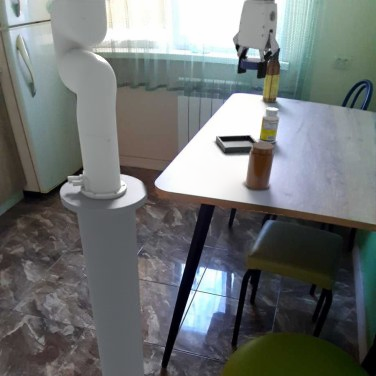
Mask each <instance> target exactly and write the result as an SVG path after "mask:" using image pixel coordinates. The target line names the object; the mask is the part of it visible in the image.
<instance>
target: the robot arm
mask: <svg viewBox="0 0 376 376" xmlns="http://www.w3.org/2000/svg"><path fill="white" fill-rule="evenodd" d="M107 15H108V14H107V4H106V0H52V1H51V4H50V11H49V18H50V19H49V21H50V27H51V35H52V41H53V48H54V56H55V61H56V67H57V71H58V72H57V73H58V75H59V78H60V80H61V82H62V83H63V85H64V86H65V87H66V88H67V89H68V90H69V91H71V92H73V93H74V94H76V124H77V131H78V138H79V144H80V152H81V160H82V168H83V170H82V174H79V175H68V176H67V182H68V183H69V184H72V183H73V186H81V187H80V189H81V193H82V194H83V195H84V196H86V197H89V198H92V199H99V200H105V199H113V198H117V197H120V196H122V195H123V194H125V193H126V191H127V185H126V183H125V182H123V181H122V180H121V178H120V174H121V168H120V167H121V166H120V154H119V139H118V129H117V127H118V126H117V114H116V113H117V111H116V109H117V108H116V104H117V92H118V87H117V86H118V85H117V83H118V82H117V77H116V74H115V71H114V69H113V67H112V66H111V64H110V63H109V62H108V61H107V60H106V59H105V58H104V57H102V56H100V55H99V54H96V53H94V47H96V46H98V45H100V44H102V43H103V41H104V40H105V38H106V36H107V32H108V16H107ZM277 28H278V3H277V2H276V0H243V4H242V9H241V13H240V19H239V25H238V31H237V32H236V34H235V35H234V36H233V37H232V42H233V44H234V48H235V51H236V56H237V57H238V61H237V62H238V63H237V74H239V75H241V74H246V73H247V70H248V69H243V68H241V67H240V63H241V59H242V58H249V56H247V54H248V53H249V50H250V49H252V50H258V53H259V59H261V62H259V63H258V70H256V71H257V73H256V79H258V80H261V79H265V77H266V72H267V65H268V62H269V61H270V59H271V58H272V57H273V55H274V53H275V52H276V51H277V50H278V49H279V47H280V44H279V43H278V41H277V39H276V37H277V30H278V29H277Z"/></svg>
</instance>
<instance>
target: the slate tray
mask: <svg viewBox="0 0 376 376" xmlns="http://www.w3.org/2000/svg"><path fill="white" fill-rule="evenodd" d="M215 142H216V144H217V145H218V146H219V148H220V149H221V150H222V151H223V153H224V154H237V153H240V154H241V153H250V150H251V149H252V148H251V147H252V144H253V143H256V142H258V141H257V140H256V139H255V138H254V137H253V136H252V135H251V134H241V135H240V134H239V135H216V137H215Z"/></svg>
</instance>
